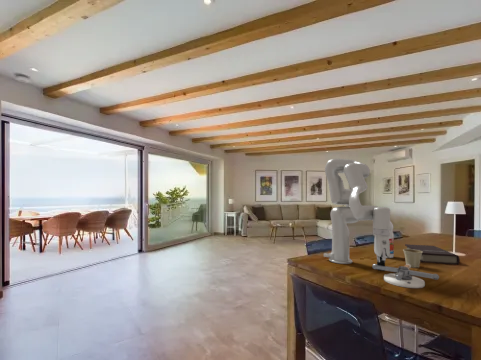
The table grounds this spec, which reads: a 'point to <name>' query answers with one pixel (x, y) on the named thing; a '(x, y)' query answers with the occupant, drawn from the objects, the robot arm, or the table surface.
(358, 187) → the robot arm
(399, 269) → the capstan
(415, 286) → the stand
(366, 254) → the table surface
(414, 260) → the flower pot
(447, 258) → the book
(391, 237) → the fruit juice
